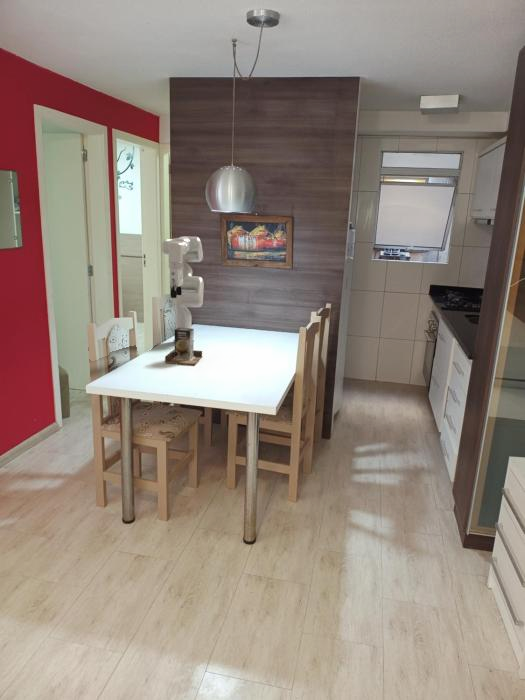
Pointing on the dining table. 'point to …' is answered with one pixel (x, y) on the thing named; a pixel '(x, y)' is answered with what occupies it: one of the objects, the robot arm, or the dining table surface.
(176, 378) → the dining table surface
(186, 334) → the coffee box
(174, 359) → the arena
